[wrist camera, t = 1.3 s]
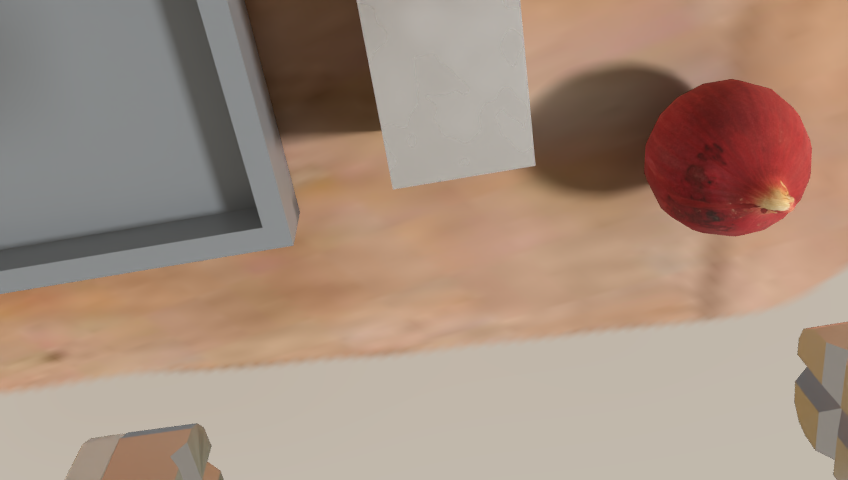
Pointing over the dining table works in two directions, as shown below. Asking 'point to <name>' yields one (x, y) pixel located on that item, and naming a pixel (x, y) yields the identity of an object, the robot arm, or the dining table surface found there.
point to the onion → (728, 158)
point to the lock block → (449, 87)
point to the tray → (134, 139)
